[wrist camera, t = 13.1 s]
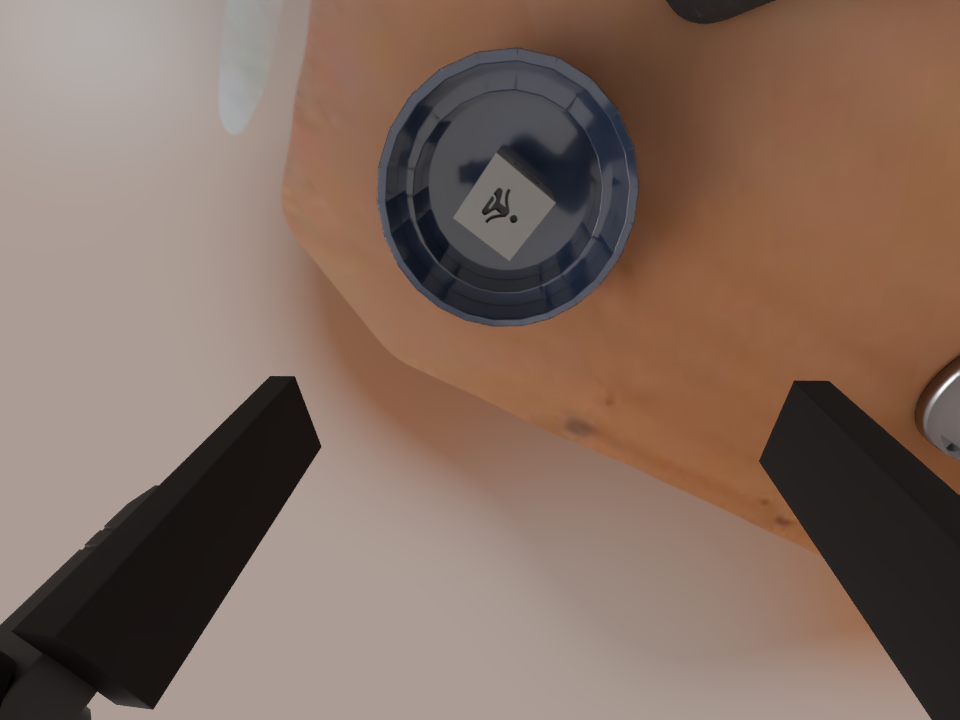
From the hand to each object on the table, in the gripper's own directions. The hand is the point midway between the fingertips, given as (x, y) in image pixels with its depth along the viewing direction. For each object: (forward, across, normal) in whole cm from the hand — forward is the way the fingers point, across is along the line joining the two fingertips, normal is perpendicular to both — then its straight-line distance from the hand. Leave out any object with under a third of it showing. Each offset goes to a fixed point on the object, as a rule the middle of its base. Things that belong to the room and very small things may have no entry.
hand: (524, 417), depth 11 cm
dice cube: (+24, +2, -2) cm, 25 cm away
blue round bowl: (+25, +2, -2) cm, 25 cm away
